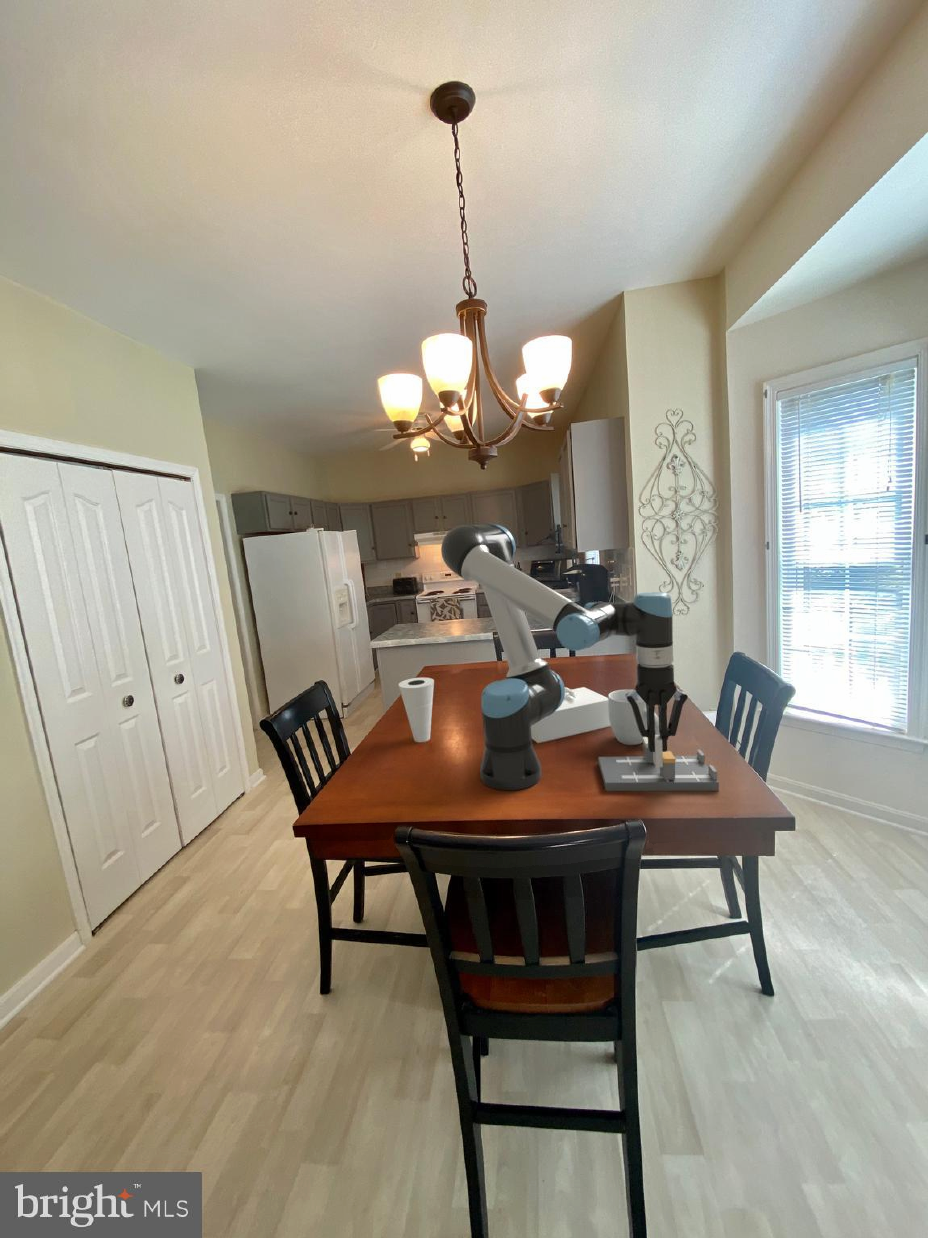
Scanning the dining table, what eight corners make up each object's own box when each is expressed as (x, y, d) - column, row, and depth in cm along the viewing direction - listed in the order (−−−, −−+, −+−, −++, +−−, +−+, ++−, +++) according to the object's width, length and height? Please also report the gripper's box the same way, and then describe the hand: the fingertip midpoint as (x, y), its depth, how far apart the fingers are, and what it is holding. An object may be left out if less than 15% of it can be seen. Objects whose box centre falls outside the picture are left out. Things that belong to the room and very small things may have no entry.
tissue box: (611, 726, 145) (610, 692, 143) (537, 744, 137) (535, 707, 136) (585, 712, 159) (583, 680, 157) (516, 727, 151) (514, 693, 149)
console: (605, 790, 109) (605, 774, 108) (598, 764, 122) (598, 749, 121) (718, 790, 105) (718, 773, 105) (699, 763, 118) (699, 748, 117)
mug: (672, 744, 129) (671, 698, 127) (647, 757, 123) (645, 708, 121) (626, 729, 142) (625, 686, 140) (601, 740, 136) (599, 696, 134)
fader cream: (646, 763, 115) (646, 743, 115) (643, 756, 119) (642, 737, 118) (657, 763, 115) (657, 743, 114) (654, 756, 119) (653, 737, 118)
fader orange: (663, 779, 107) (663, 758, 106) (659, 771, 111) (658, 751, 110) (675, 779, 107) (675, 758, 106) (671, 771, 111) (670, 751, 110)
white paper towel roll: (399, 745, 144) (392, 688, 141) (413, 731, 154) (407, 677, 151) (432, 747, 141) (426, 688, 138) (444, 732, 151) (438, 677, 148)
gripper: (626, 669, 102) (631, 772, 106) (691, 666, 100) (693, 772, 104) (621, 660, 110) (625, 757, 113) (681, 657, 108) (683, 756, 111)
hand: (658, 764), depth 109 cm, fingers closed
